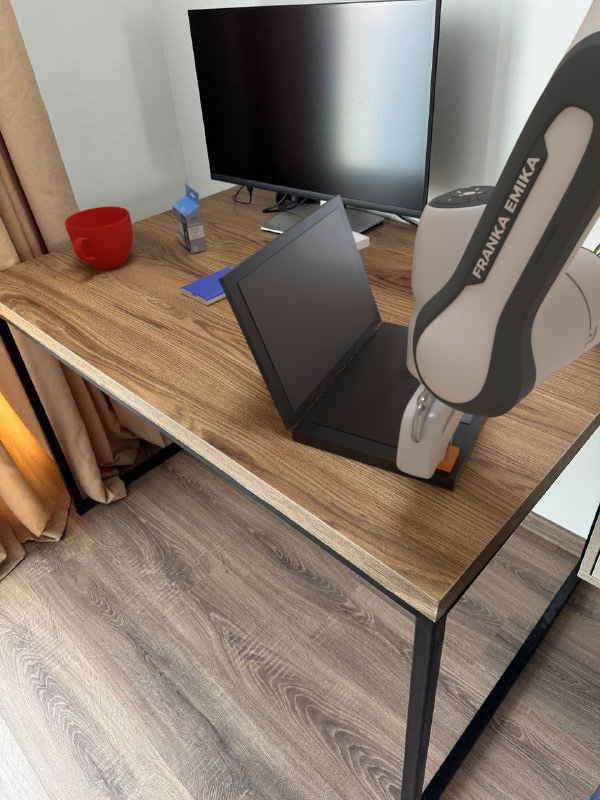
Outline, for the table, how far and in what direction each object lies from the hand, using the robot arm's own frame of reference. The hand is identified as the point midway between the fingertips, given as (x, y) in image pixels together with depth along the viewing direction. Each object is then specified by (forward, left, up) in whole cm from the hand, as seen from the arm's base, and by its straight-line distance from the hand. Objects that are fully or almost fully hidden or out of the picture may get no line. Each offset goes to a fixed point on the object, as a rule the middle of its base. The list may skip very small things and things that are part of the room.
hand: (439, 452), depth 67 cm
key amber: (0, 0, -2) cm, 2 cm away
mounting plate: (+43, -56, -3) cm, 70 cm away
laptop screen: (+22, -13, +9) cm, 27 cm away
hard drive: (+53, -30, -3) cm, 61 cm away
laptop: (+8, -12, -3) cm, 15 cm away
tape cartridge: (+71, -46, -3) cm, 84 cm away
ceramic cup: (+82, -30, -3) cm, 87 cm away
